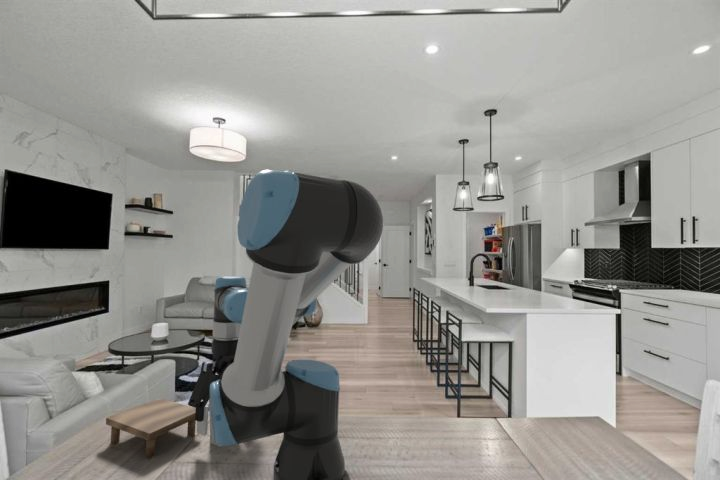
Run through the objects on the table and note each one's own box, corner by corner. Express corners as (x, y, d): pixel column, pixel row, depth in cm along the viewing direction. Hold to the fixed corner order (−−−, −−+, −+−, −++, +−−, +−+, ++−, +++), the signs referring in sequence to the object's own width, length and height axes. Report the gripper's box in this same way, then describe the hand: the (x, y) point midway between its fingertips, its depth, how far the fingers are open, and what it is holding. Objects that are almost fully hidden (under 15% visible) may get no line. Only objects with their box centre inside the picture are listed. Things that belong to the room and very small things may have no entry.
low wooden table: (200, 433, 91) (201, 409, 92) (147, 461, 79) (149, 433, 79) (158, 419, 98) (160, 397, 98) (104, 443, 86) (106, 417, 86)
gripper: (250, 327, 104) (247, 400, 103) (174, 345, 81) (169, 440, 80) (271, 330, 100) (268, 406, 99) (197, 350, 78) (192, 449, 77)
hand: (223, 421), depth 90 cm, fingers open, 13 cm apart
